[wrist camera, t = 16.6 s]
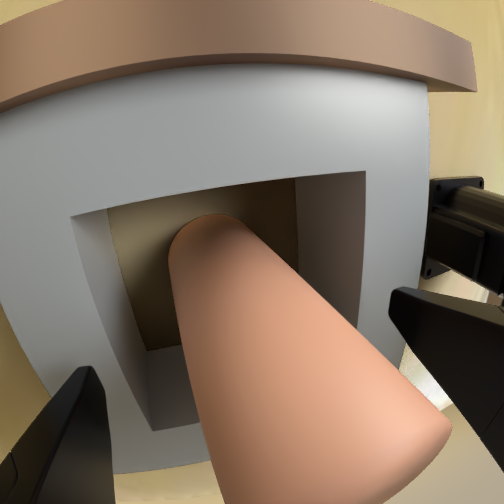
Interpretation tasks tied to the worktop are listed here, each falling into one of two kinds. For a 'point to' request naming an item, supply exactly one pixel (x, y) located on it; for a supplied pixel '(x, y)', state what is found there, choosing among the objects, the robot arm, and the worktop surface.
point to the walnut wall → (221, 42)
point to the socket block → (193, 179)
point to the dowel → (290, 380)
